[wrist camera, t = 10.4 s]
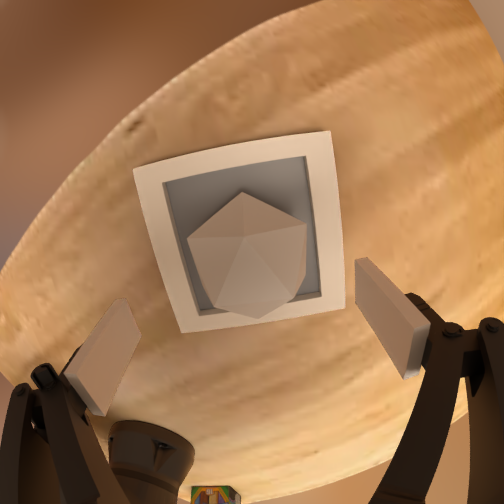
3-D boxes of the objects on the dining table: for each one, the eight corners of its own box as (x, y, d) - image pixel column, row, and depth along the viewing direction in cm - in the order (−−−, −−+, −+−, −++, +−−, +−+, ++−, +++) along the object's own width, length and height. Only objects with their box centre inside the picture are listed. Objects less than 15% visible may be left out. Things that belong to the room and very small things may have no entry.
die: (227, 170, 23) (145, 242, 17) (330, 187, 19) (271, 285, 13) (240, 245, 28) (181, 318, 22) (324, 269, 25) (277, 361, 19)
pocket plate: (185, 321, 29) (181, 333, 27) (140, 166, 23) (132, 168, 21) (339, 297, 28) (345, 307, 26) (323, 131, 22) (330, 130, 20)
